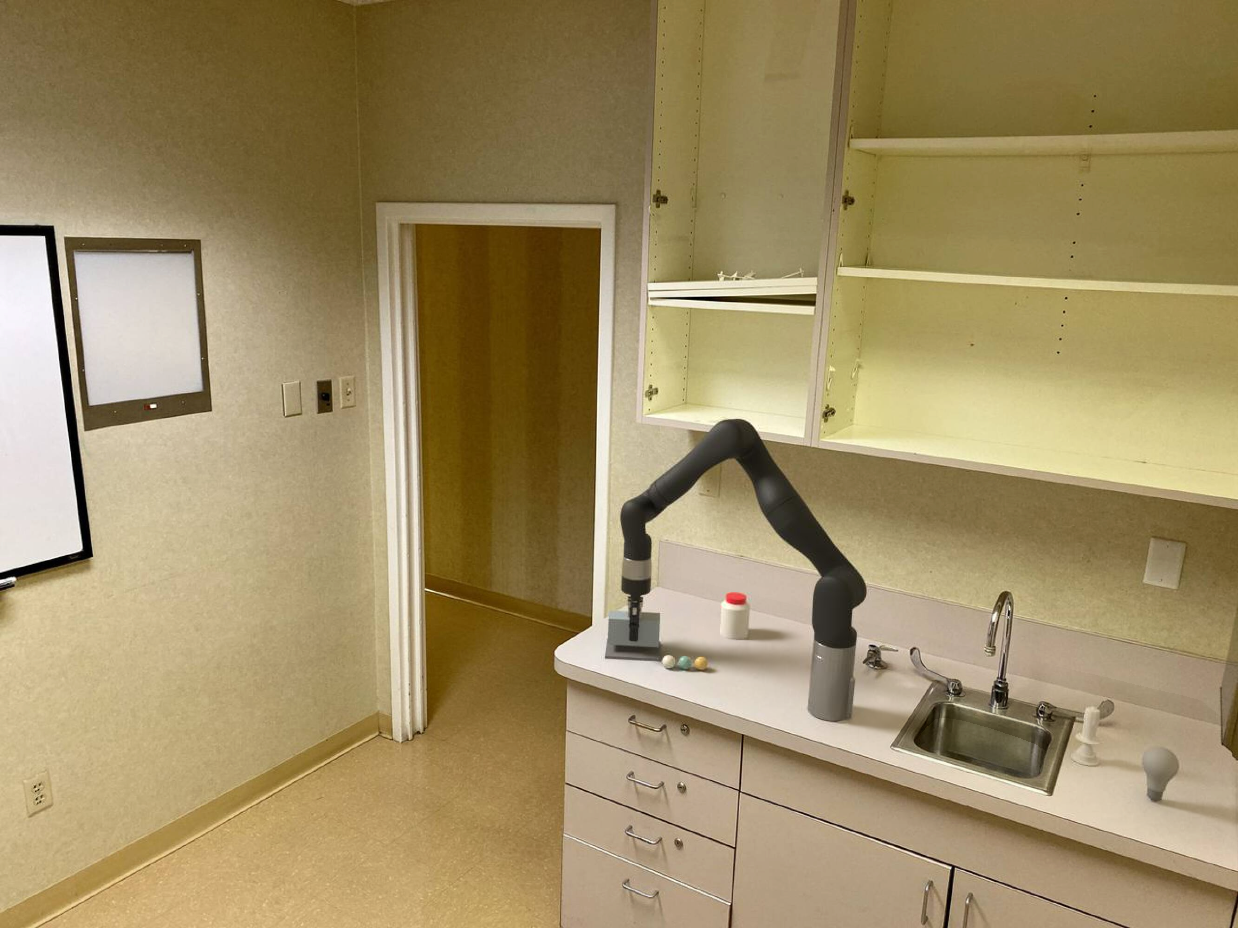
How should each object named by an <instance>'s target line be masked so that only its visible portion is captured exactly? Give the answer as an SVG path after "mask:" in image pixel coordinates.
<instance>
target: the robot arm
mask: <svg viewBox="0 0 1238 928" xmlns="http://www.w3.org/2000/svg"><path fill="white" fill-rule="evenodd" d="M771 455H772V454H770V452H769V450H768V449H767V447H766V445H765V443H764V442H763V440H762V438H761V436H760V434H759V433H758V431H757V429H756V428H755V426H754V425H753V424H752V423H751V422H749V421H747V420H746V419H743V418H729V419H728V418H727V419H722V420H719V422H716V424H714V426H712V427H711V429H710V430H709V431H708V432H706V435H704V436H703V438H702V439H701V440H700V441H699V442H698V443H697V444H696V445H695V446H694V448H692V450H690V452H688V453H687V454H686V455H685V456H684V457H683V458H682V459H680V460H679V461H678V462H677V463H676V464H674V465H673V466H672V467H670V468H669V469H668V470H667V471H665V472H664V473H663V474H661V476H659V477H658V478H656V479H655V480H654V481H653V482H652V483H651V484H650V485H649V487H648V488H647V489H646V490H645V491H643V492H642V493H641V494H638V495H637V496H635V497H632V498H631V499H629V500H627V501H625V502H624V503H623V505H622V507H621V510H620V514H619V515H620V516H619V517H620V520H619V521H620V527H621V532H622V537H623V541H624V542H623V557H622V563H621V582H620V584H621V585H620V589H621V591H622V593H624V594H626V595H628V596H627V607H628V608H627V611H628V618H630V619H629V628H630V633H629V640H630V641H634V642H637V641H638V628H639V626H640V625H639V619H640V618H641V613H642V612H643V611H642V609H643V607H644V605H643V604H644V596H646V595H648V594H650V592H651V590H652V589H651V588H652V571H653V569H652V568H653V564H652V563H653V562H652V549H653V548H652V545H653V540H652V537H651V535H650V534H648V533H647V530H646V524H648V523H650V522H651V521H653V520H654V519H656V518H657V517H658V516H659V515H660V514H662V513H663V512H664V511H665V509H667V508H668V507H669V506H671V505H672V504H674V503H675V502H676V501H678V500H679V499H680V498H682V497H683V496H684V495H686V494H687V493H688V492H689V491H690V490H691V489H692V488H693V487H694V486H695V484H696V483H697V482H698V481H699V480H700V479H701V477H702V476H703V475H705V473H707V472H708V471H709V470H711V469H712V468H714V467H715V466H717V465H719V464H721V463H723V462H725V461H727V460H735V461H736V462H737V464H739V466H740V467H741V468H742V469H743V471H744V472H745V473H746V475H747V476H748V477H749V479H750V481H751V484H752V486H753V489H754V493H755V497H756V500H757V503H758V506H759V508H760V512H761V513H762V514H763V516H764V518H766V520H767V522H768V523H769V525H770V526H771V528H772V529H773V531H774V532H775V533H776V535H778V536H779V537H780V538H781V539H782V540H783V541H784V542H785V543H787V544H788V545H789V546H790V547H792V548H793V549H795V550H796V551H797V552H798V553H800V554H802V555H803V556H804V557H806V559H807V560H808V561H809V562H810V563H811V564H812V565H813V567H814V568H815V569H816V570H817V572H818V574H819V575H820V578H819V579H818V580H817V581H816V583H815V586H814V589H813V593H812V594H813V595H812V609H811V611H812V613H811V626H812V630H813V642H812V643H813V645H812V658H811V666H810V677H809V689H808V699H807V710H808V712H809V713H810V714H811V715H812V716H813V717H816V718H818V719H820V720H825V721H831V722H837V721H838V722H839V721H843V720H847V719H852V717H853V716H852V714H853V706H854V705H853V704H854V697H855V695H854V694H855V684H856V678H855V676H854V669H855V659H856V649H857V639H858V633H857V630H856V629H855V627H853V626H852V624H853V623H852V622H853V610H854V609H856V608H857V607H858V606H860V605H861V604H862V603H864V601H865V599H866V597H867V595H868V594H867V591H868V590H867V589H868V588H867V585H866V581H865V580H864V578H863V576H862V575H861V573H860V572H859V571H858V569H857V568H856V567H855V566H854V565H853V564H852V563H851V562H850V560H849V559H848V558H847V557H846V555H844V554H843V553H842V551H841V550H840V549H839V548H838V547H837V545H836V544H835V543H834V542H833V541H832V539H831V538H830V536H829V534H828V533H827V531H826V530H825V529H824V528H823V526H822V525H821V524H820V522H819V521H818V520H817V518H816V517H815V515H814V514H813V512H812V511H811V510H810V508H809V506H808V505H807V504H806V502H805V501H804V499H803V497H801V495H800V494H799V492H798V491H797V489H795V487H794V486H793V485H792V483H791V482H790V481H789V479H788V477H787V476H786V474H784V473H783V471H782V470H781V468H780V467H779V466H778V464H777V463H776V462H775V460H774V459H773V457H772V456H771ZM639 612H640V613H639ZM632 620H634V621H637V623H631V621H632Z"/></svg>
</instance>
